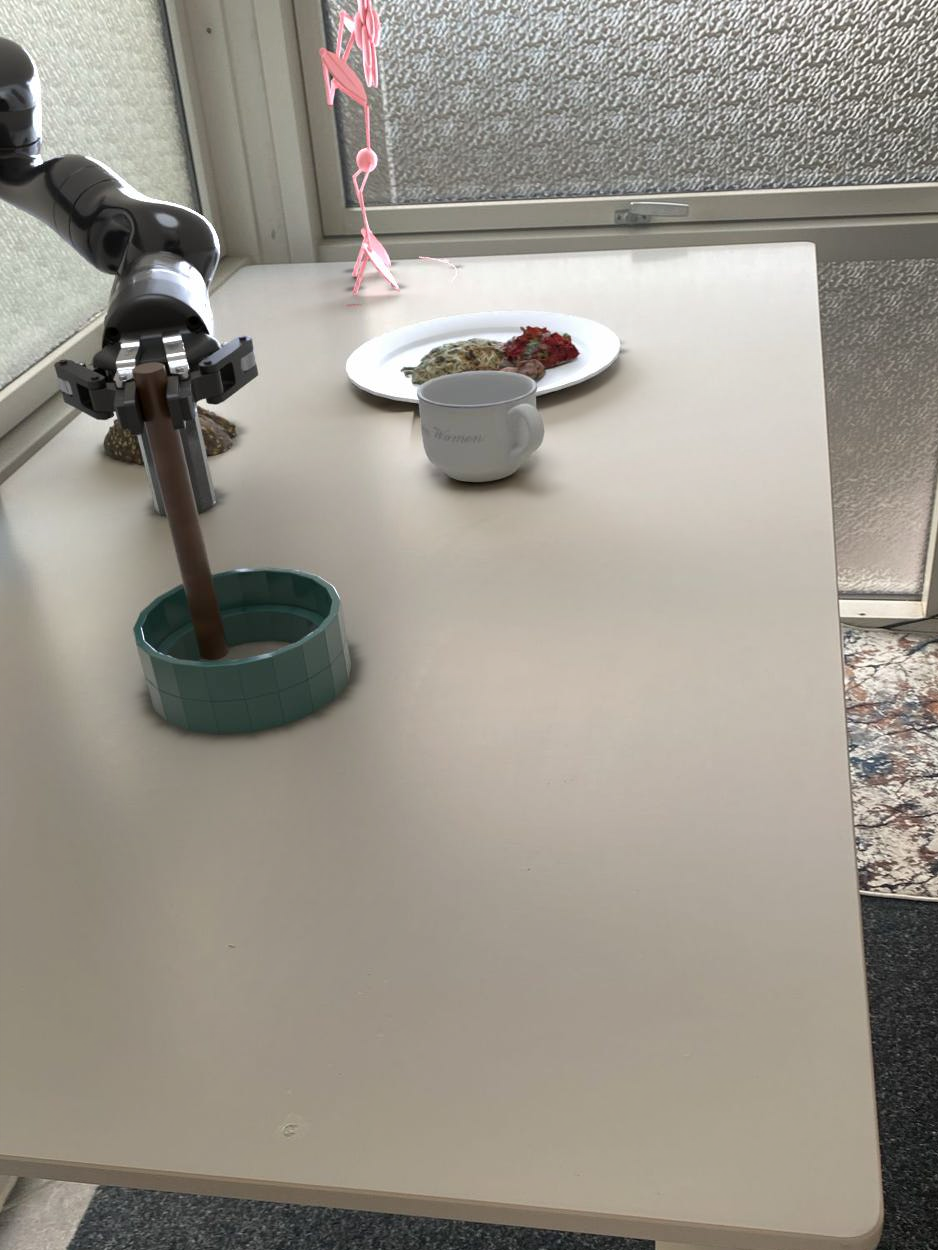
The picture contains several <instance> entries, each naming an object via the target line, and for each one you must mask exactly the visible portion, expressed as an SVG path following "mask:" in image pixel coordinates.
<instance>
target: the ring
mask: <svg viewBox="0 0 938 1250" xmlns="http://www.w3.org/2000/svg"><path fill="white" fill-rule="evenodd" d="M211 574H212V573H211ZM212 579H213V583H214V587H215V592H216V596H217V601H218V605H219V610H220V614H221V619H222V623H223V627H224V632H225V636H226V641H227V645H228V648H231V647H236V646H241V645H246V644H251V643H262V642H263V643H265V642H266V643H267V642H281V643H289V645H286V646H283V647H280V648H279V649H276V650H273V651H271V652H268V653H263V654H259V655H258V654H257V655H253V656H249V657H245V658H240V659H233V660H232V659H231V660H216V661H200V660H203V659H202V658H201V656H200V652H199V648H198V644H197V640H196V635H195V631H194V627H193V623H192V619H191V615H190V610H189V606H188V602H187V598H186V594H185V590H184V586H183V583H181V584H179V585H177V586H175V587H173V588H172V589H170V590H168V591H166V592H165V593H163V594H161V595H159V596H158V597H156V598H154V599H153V600H152V601H151V602H150V603H149V604H148V605H147V606H146V607H145V608H144V609H143V610H141V611H140V612H139V614H138V617H137V618H136V621H135V623H134V626H133V627H132V631H133V636H134V641H135V645H136V648H137V652H138V655H139V656H138V657H139V659H140V663H141V667H142V670H143V673H144V678H145V682H146V687H147V690H148V693H149V696H150V701H151V705H152V708H153V710H154V711H155V712H156V713H157V714H158V715H159V716H160V717H161V718H162V719H163V720H164V721H165V722H167V723H169V724H171V725H174V726H176V727H179V728H181V729H184V730H187V731H188V732H189V731H190V732H195V733H202V734H203V733H204V734H212V735H232V734H235V735H236V734H249V733H256V732H262V731H265V730H268V729H273V728H279V727H282V726H287V725H289V724H291V723H294V722H296V721H298V720H301V719H303V718H305V717H308V716H311V715H313V714H314V713H316V712H317V711H318V710H319V711H320V709H322V708H323V707H325V706H326V705H327V704H329V703H330V702H332V701H334V700H335V699H336V698H337V697H338V696H339V694H340V693H341V692H342V690H343V689H344V688H345V686H347V684H348V682H349V680H350V674H351V668H352V661H351V655H350V650H349V644H348V636H347V633H346V632H347V630H346V625H345V619H344V611H343V605H342V600H341V598H340V596H339V594H338V591H337V590H336V588H335V586H334V585H333V584H331V583H330V582H328V581H326V580H325V579H323V578H322V577H321V576H319V575H317V574H313V573H309V572H306V571H303V570H299V569H295V568H284V567H283V568H282V567H271V566H268V567H267V566H264V567H263V566H262V567H250V568H249V567H248V568H238V569H237V568H236V569H232V570H226V571H223V572H217V573H213V574H212ZM290 643H292V644H290Z"/></svg>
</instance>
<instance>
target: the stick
mask: <svg viewBox="0 0 938 1250" xmlns="http://www.w3.org/2000/svg"><path fill="white" fill-rule="evenodd" d="M132 374H133V378H134V382H135V386H136V388H137V393H138V397H139V401H140V405H141V409H142V413H143V418H144V423H145V428H146V432H147V436H148V440H149V444H150V448H151V452H152V457H153V461H154V465H155V469H156V473H157V477H158V482H159V486H160V490H161V494H162V498H163V502H164V507H165V511H166V515H167V517H166V519H167V523H168V528H169V531H170V536H171V539H172V543H173V548H174V551H175V556H176V560H177V564H178V568H179V572H180V573H179V574H180V577H181V581H182V584H183V586H184V590H185V594H186V598H187V602H188V606H189V610H190V615H191V619H192V623H193V627H194V631H195V635H196V640H197V644H198V648H199V652H200V656H201V658H202V659H201V660H204V661H207V662H215V661H220V660H221V659H224V658H225V657H227V656H228V655H229V652H230V650H229V647H228V645H227V641H226V636H225V632H224V627H223V623H222V619H221V614H220V610H219V605H218V601H217V596H216V592H215V587H214V583H213V579H212V570H211V565H210V560H209V557H208V552H207V548H206V543H205V539H204V535H203V530H202V526H201V522H200V517H199V514H198V512H197V507H196V503H195V499H194V494H193V490H192V485H191V481H190V476H189V472H188V467H187V463H186V459H185V454H184V450H183V445H182V441H181V436H180V432H179V429H178V430H174V428H173V424H172V420H171V415H170V411H169V407H168V402H167V396H166V391H167V381H168V379H167V374H166V370H165V366H164V364H162V363H157V362H153V363H145V364H141V365H138V366H136V367H134V368H133V369H132Z"/></svg>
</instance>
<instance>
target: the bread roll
mask: <svg viewBox="0 0 938 1250" xmlns="http://www.w3.org/2000/svg"><path fill="white" fill-rule="evenodd" d="M196 409H197V412H198V417H199V422H200V426H201V431H202V436H203V440H204V445H205V450H206V454H207V456H216V455H220V454H223V453H226V452H228V451H229V450H231V448H232V447H233V445H234V441H233V440H232V439H233V438H235V437H236V436H237V434H238V430H237V429H236V428H237V426H236V424H235V422H234V423H233V422H231V421H229V420H228V419H226V418H225V417H223V416H220V415H217V413H216V412H215V411H210V410H209V409H206V408H204V407H201V406H200V405H198V404H197V408H196ZM108 428H109V430H108V432H107V433H106V435H105V436H104V440H103V448H104V451H105V454H106V455H109V456H110V457H112V458H113V459H114V460H119V461H121V462H125V463H129V464H130V465H141V466H142V465H144V461H143V457H142V453H141V449H140V444H139V440H138V436H137V435H135V436H131V433H130V429H124V430H122V429H121V428H120V427H119V424H118V420H117V418H115V419H114V420H113V425H112V426H109V427H108Z"/></svg>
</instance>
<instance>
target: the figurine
mask: <svg viewBox="0 0 938 1250" xmlns="http://www.w3.org/2000/svg"><path fill="white" fill-rule="evenodd" d="M357 6H358V7H357V8H358V10H357V11H356V12H355V15H354V18H353V17H352V16H350V15H349V14H348V13H347V11H345V10H344V9H341V10H340V11H339V13H338V16H339V25H338V31H337V33H338V34H337V41H336V50H335V53H334V52H332V51H329V50H327V49H326V48H325V47H320V48H319V49H318V54H319V56H320V59H321V66H322V73H323V81H324V88H325V95H326V101H327V102H326V103H327V106H328V107H329V109H331V108H332V107H333V105H334V98H335V92H336V89H339V90H340V91H341V92H342V93H344V94H346V95H347V96H348V97H350V98H351V99H352V100H353V101H355V102H356V103H357V104H359V105H361V106H362V107H363V108H364V124H365V134H366V135H365V136H366V137H365V139H366V147H365V148H362V149H360V150H359V151H358V152H357V155H356V159H355V160H356V161H355V162H356V165H357V167H358V170H357V171H356V172H355V174H353V175H352V177H351V178H352V182H353V186H354V189H355V192H356V196H357V200H358V204H359V207H360V210H361V213H362V218H363V222H364V223H363V224H364V227H362V228H361V230H360V232H361V235H362V236H363V239H362V244H361V246H360V249H359V252H358V256H357V259H356V262H355V265H354V268H353V271H352V276H353V277H354V278H356V277H357V278H356V281H355V283H354V287H353V289H352V290H353V291H352V295H353V296H357V295H358V291H359V288H360V286H361V283H362V282H361V281H362V279H363V277H364V273H365V270H366V267H367V264H368V261H369V262H370V263H371V264H372V266H373V267H374V268H375V270H376V271H377V272H378V273H379V274H380V275H381V276H382V278H383V279H384V280H385V281H386V282H387V283H388V284H389V285H390V286H391V287H392V288H393V289H394V290H395V291H396V292H400V290H401V289H400V288H399V285H398V284H397V281H396V280H395V278H394V276H393V274H392V273H391V271H390V270H389V268H390V267H391V266H392V264H391V259H390V256H389V254H388V252H387V250H386V249H385V247H384V245H382V243H381V242H380V240H378V239H377V237H376V236H375V235H374V234H373V231H371V230H370V227H369V223H368V219H367V213H366V207H365V202H364V196H363V191H364V189H365V188H364V187H365V185H366V182H367V180H368V177H369V174H370V173H371V172H373V171H374V170H375V169H376V167H377V165H378V156H377V153H376V152H375V151H374V150H373V149H372V148H371V135H370V106H369V105H367V103H368V97H367V92H366V91H365V90H366V89H365V87H364V85H363V83H362V81H361V80H360V78H359V76H358V75H357V74H356V72H355V71H354V70H353V68H352V67H351V66H350V65H349V64H348V63H347V60H348V57H349V55H350V53H351V49H352V47H353V44H354V41H355V43H356V46H357V47H358V48H359V49H360V50H361V51H362V64H363V71H364V72H363V73H364V77H365V82H366V85H367V87H368V88H371V86H372V85H373V87H374V88H375V89H377V88H378V85H379V77H378V76H379V74H378V61H377V59H378V58H377V52H376V51H377V50H376V47H378V46H379V45H380V39H381V33H380V32H381V28H382V26H381V23H380V17H379V14H378V12H377V10H375V9H374V8H372V0H357ZM344 26H345V27H346V28H347V30H348V31H349V32H350V33H351V35H350V37H349V40H348V42H347V45H346V48H345V50H344V53H343V56H342V58H341V48H342V41H343V32H344ZM329 74H330V75H331V76H332V79H331V81H330V80H329ZM362 172H364V173H365V174H364V177H363V181H362V183H361V186H360V189H359V187H358V182H357V177H358V176H359V175H360V173H362ZM418 258H420V259H427V260H428V259H429V260H433V261H434V260H435V261H439V262H443V263H446V264H448V265H450V266H452V267H453V268H454V269H455V270H456V272H458V271H457V270H458V269H457V268H456V266H455V265H453V264H452V263H450V262H449V260H448V259H445V258H443V259H439V258H434V257H428V256H418ZM459 270H460V271H461V269H459ZM457 275H458V274H457V273H456V274H455V275H454V277H453V278H452V279H451V280H450V281H449V282H450V283H452V281H454V280H455V279H456V276H457ZM352 276H351V277H352ZM348 306H349V307H352V306H361V304H360V303H352V304H346V307H348Z"/></svg>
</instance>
